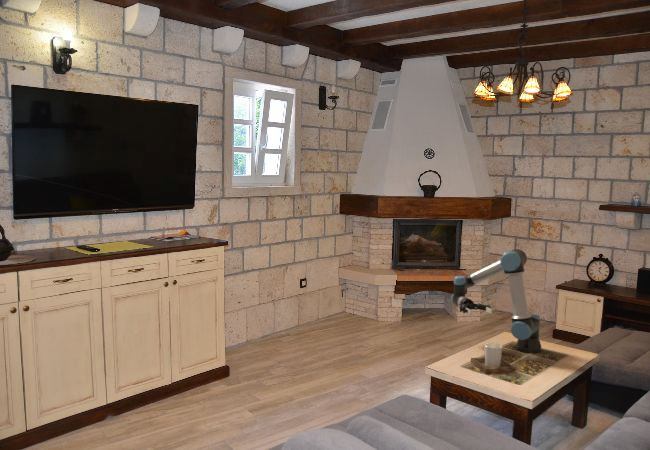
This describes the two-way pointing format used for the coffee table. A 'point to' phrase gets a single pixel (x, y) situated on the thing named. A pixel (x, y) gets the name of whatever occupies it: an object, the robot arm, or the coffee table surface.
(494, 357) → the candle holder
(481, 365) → the walnut tray
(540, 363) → the coffee table surface
